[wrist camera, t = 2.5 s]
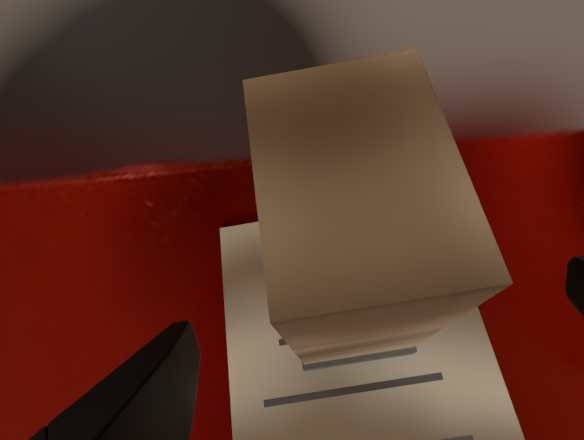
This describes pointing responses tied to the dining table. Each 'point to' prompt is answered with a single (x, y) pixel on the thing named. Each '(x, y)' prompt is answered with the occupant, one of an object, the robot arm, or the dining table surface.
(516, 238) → the dining table surface
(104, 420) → the robot arm
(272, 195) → the block
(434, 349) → the white lined paper sheet
